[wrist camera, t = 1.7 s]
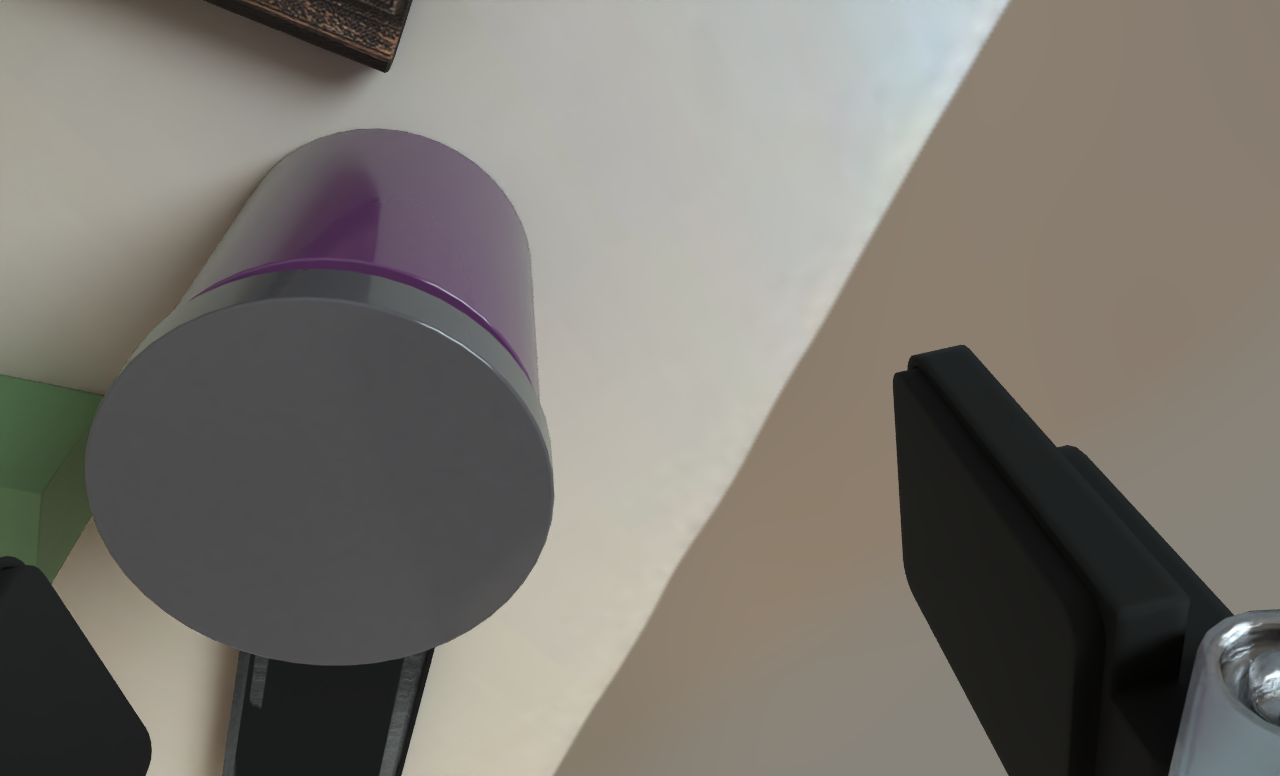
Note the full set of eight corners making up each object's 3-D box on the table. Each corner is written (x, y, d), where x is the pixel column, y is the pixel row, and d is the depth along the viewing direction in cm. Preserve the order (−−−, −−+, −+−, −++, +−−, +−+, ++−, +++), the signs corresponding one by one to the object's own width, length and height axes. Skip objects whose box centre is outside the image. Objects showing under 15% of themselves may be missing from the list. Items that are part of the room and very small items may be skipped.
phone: (456, 566, 40) (392, 808, 46) (457, 548, 41) (394, 788, 47) (252, 537, 38) (216, 794, 44) (258, 519, 39) (222, 773, 45)
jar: (213, 363, 35) (69, 632, 23) (255, 80, 31) (101, 240, 19) (495, 423, 38) (492, 692, 26) (573, 172, 33) (611, 363, 22)
